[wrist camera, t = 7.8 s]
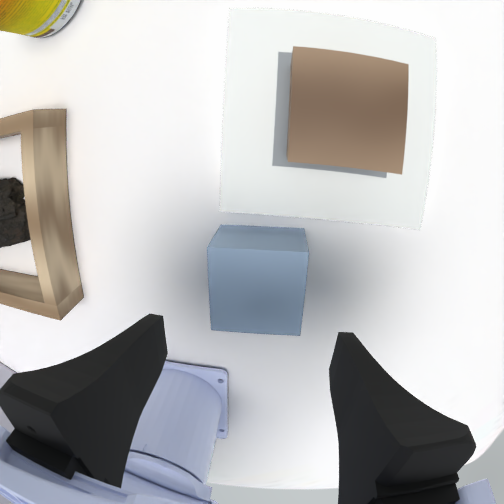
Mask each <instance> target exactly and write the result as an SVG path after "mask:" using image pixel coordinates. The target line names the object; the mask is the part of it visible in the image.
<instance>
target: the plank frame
mask: <svg viewBox="0 0 504 504" xmlns="http://www.w3.org/2000/svg"><path fill="white" fill-rule="evenodd" d="M18 134H21V155H22V173H23V185H24V195H25V204H26V212H27V219H28V226H29V232H30V238H31V244H32V249H33V255H34V260H35V264H36V269H37V273H38V276H32V275H27V274H22V273H17V272H11V271H6V270H2V269H0V304H4V305H7V306H10V307H14V308H17V309H20V310H24V311H27V312H31V313H34V314H38V315H42V316H46V317H49V318H53V319H57V320H62V319H63V318H64V317H65V316H66V315H67V314H68V313H69V312H70V311H71V310H72V309H73V308H74V307H75V306H76V305H77V304H78V303H79V302H80V301H81V300H82V299H83V298H84V296H83V291H82V286H81V281H80V276H79V270H78V264H77V259H76V252H75V246H74V239H73V231H72V224H71V215H70V205H69V194H68V181H67V162H66V109H36V110H30V111H26V112H22V113H18V114H15V115H11V116H8V117H4V118H1V119H0V138H4V137H9V136H13V135H18Z"/></svg>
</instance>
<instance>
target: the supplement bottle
mask: <svg viewBox="0 0 504 504" xmlns="http://www.w3.org/2000/svg"><path fill="white" fill-rule="evenodd" d="M79 3H80V0H0V30H1V31H6V32H12V33H17V34H22V35H26V36H31V37H36V38H42V37H47V36H49V35H52V34H54V33H55V32H57V31H58V30H60V29H61V28H62V27H63V26H64V25H65V24H66V23H67V22H68V21H69V20H70V18H71V17H72V16H73V14H74V13H75V11H76V9H77V7H78V5H79Z"/></svg>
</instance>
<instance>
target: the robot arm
mask: <svg viewBox="0 0 504 504" xmlns="http://www.w3.org/2000/svg"><path fill="white" fill-rule="evenodd" d="M167 354H168V353H167V345H166V338H165V330H164V321H163V316H161V315H154V314H149V315H147V316H145V317H144V318H142V319H141V320H139V321H138V322H136V323H135V324H134V325H132V326H131V327H129V328H128V329H126V330H125V331H123V332H122V333H120V334H119V335H117V336H116V337H114V338H112V339H111V340H109V341H107V342H106V343H104V344H102V345H101V346H99V347H97V348H95V349H93V350H92V351H90V352H88V353H85V354H83V355H81V356H79V357H77V358H74V359H71V360H69V361H66V362H63V363H61V364H58V365H54V366H51V367H47V368H43V369H39V370H34V371H28V372H22V373H14V374H12V376H11V377H10V378H9V379H8V380H7V381H6V383H5V384H4V385H3V386H2V387H1V389H0V407H1V409H2V410H3V412H4V413H5V415H6V416H7V418H8V419H9V421H10V422H11V424H12V425H13V427H14V428H15V429H14V430H13V431H12V433H10V432H9V431H8V430H7V429H6V428H4V427H3V426H1V425H0V494H1V495H2V496H3V497H5V498H6V499H8V500H9V501H11V502H12V503H14V504H218V503H217V502H216V501H214V500H211V499H210V496H211V492H212V487H210V486H207V485H206V482H207V478H208V473H209V469H210V464H211V460H212V455H213V451H214V446H215V442H216V438H222V439H224V438H227V435H228V374H227V372H226V371H225V370H222V369H215V368H208V367H200V366H194V365H187V364H180V363H174V362H168V361H165V360H166V357H167ZM329 377H330V392H331V398H332V403H333V409H334V415H335V420H336V426H337V432H338V441H339V498H338V504H496V501H495V498H494V495H493V492H492V489H491V486H490V484H489V481H488V479H483V480H480V481H477V482H474V483H471V484H467V485H465V486H462V487H461V488H459V489H457V487H456V484H455V483H457V482H458V480H459V477H458V474H457V472H458V471H459V470H460V468H461V467H462V466H463V465H464V464H465V463H466V462H467V461H468V460H469V459H470V457H471V456H472V455H473V453H474V451H475V448H476V443H475V441H474V439H473V436H472V434H471V432H470V429H469V427H468V426H467V425H465V424H463V423H460V422H458V421H456V420H453V419H451V418H449V417H447V416H445V415H443V414H441V413H439V412H437V411H436V410H434V409H432V408H431V407H429V406H427V405H426V404H424V403H423V402H421V401H420V400H418V399H417V398H416V397H414V396H413V395H412V394H410V393H409V392H408V391H407V390H405V389H404V388H403V387H402V386H401V385H399V384H398V383H397V382H396V381H395V380H394V379H393V378H392V377H391V376H390V375H389V374H388V373H387V372H386V371H385V370H384V369H383V368H382V367H381V366H380V365H379V364H378V362H377V361H376V360H375V359H374V358H373V357H372V356H371V354H370V353H369V352H368V351H367V349H366V348H365V347H364V346H363V345H362V343H361V342H360V341H359V340H358V338H357V337H356V336H355V335H354V333H348V332H338V337H337V341H336V345H335V349H334V353H333V357H332V360H331V364H330V368H329ZM220 379H223V380H220Z"/></svg>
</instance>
